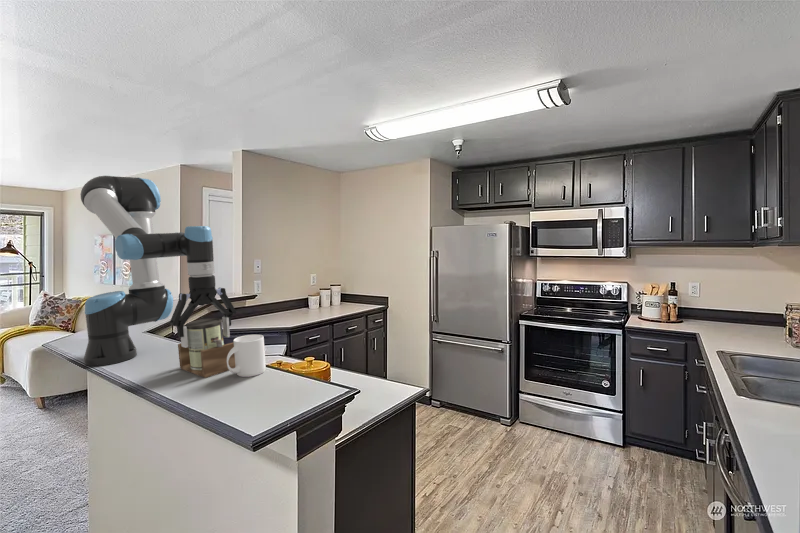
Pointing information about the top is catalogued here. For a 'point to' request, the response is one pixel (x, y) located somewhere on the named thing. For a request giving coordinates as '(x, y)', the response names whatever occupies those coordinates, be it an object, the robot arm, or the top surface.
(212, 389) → the top surface
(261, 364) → the mug
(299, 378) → the top surface
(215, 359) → the cradle
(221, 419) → the top surface
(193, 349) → the coffee can
